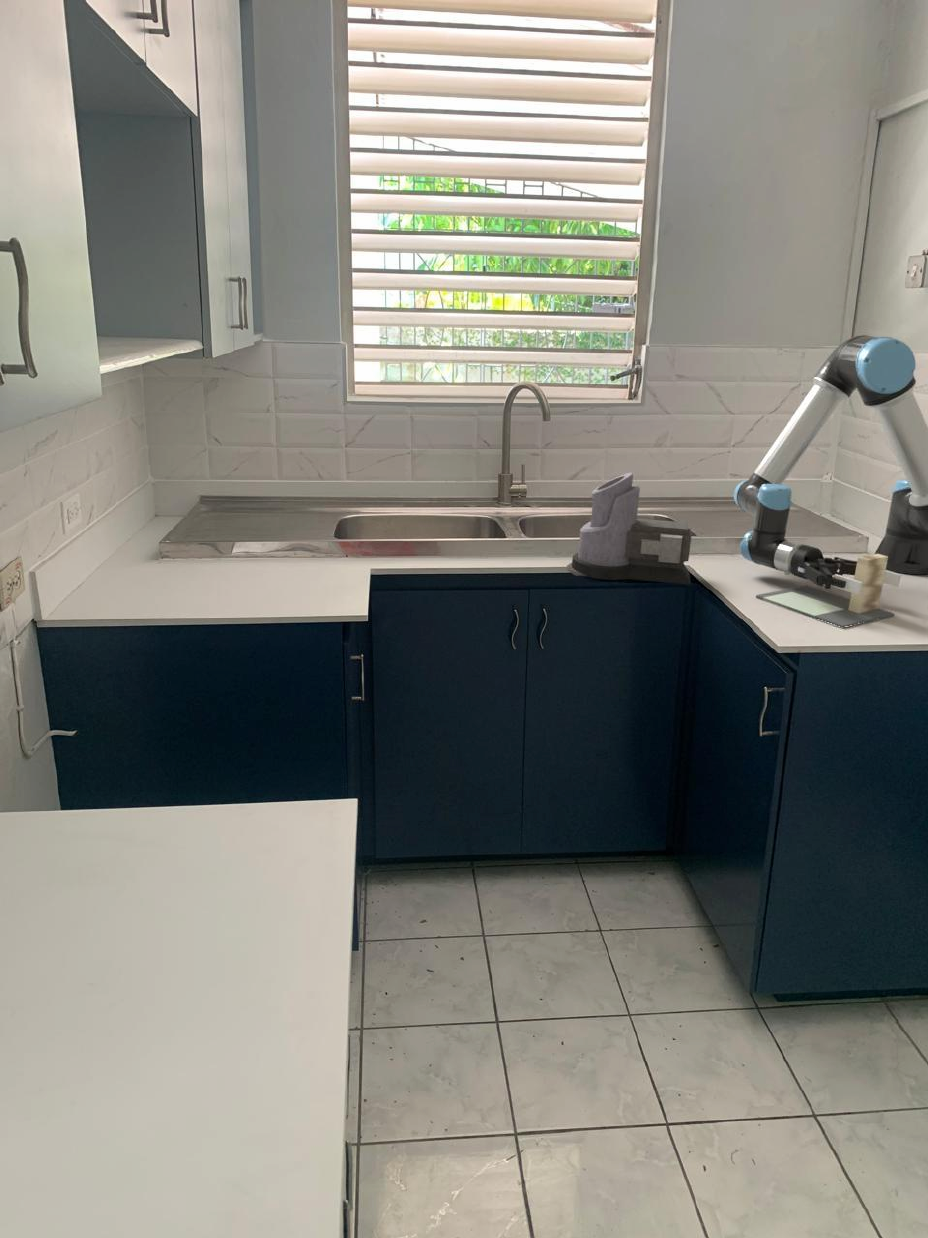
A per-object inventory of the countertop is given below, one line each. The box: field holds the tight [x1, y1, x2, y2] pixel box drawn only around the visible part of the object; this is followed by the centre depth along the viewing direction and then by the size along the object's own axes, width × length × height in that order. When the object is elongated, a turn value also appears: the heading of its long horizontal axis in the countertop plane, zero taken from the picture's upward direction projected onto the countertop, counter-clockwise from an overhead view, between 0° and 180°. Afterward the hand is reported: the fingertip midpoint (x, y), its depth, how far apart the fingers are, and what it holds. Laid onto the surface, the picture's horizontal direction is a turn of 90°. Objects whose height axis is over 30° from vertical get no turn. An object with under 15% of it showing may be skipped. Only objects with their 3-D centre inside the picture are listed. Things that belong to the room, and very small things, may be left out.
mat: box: [755, 584, 895, 627], centre depth 208 cm, size 18×23×1 cm
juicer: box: [566, 472, 692, 586], centre depth 225 cm, size 30×16×24 cm, turn 79°
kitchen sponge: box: [848, 553, 888, 613], centre depth 204 cm, size 7×3×12 cm, turn 123°
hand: (880, 584), depth 201 cm, fingers open, 13 cm apart
